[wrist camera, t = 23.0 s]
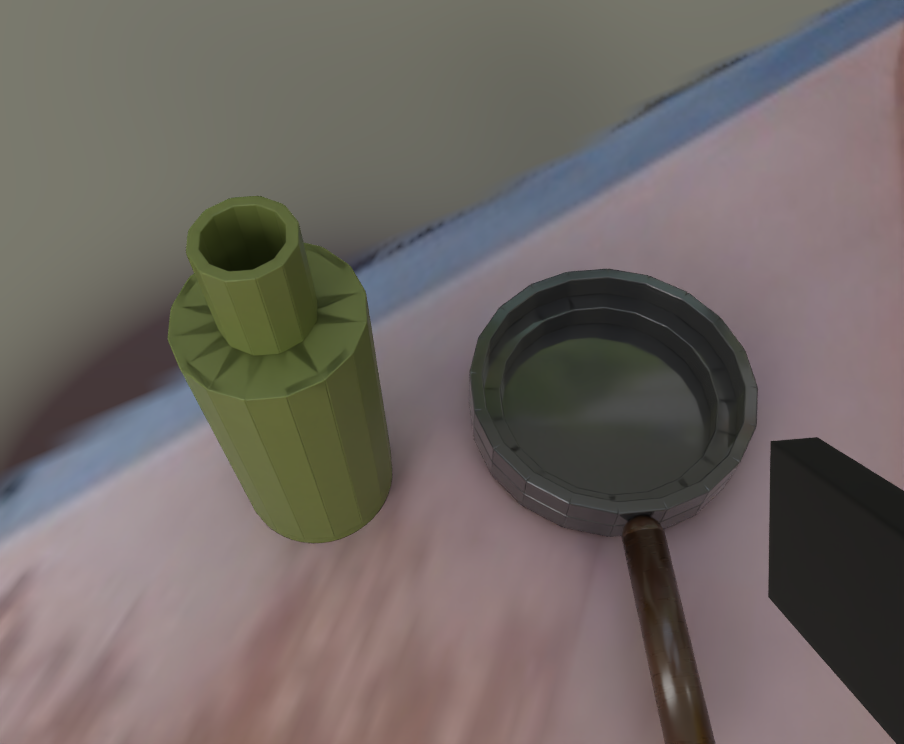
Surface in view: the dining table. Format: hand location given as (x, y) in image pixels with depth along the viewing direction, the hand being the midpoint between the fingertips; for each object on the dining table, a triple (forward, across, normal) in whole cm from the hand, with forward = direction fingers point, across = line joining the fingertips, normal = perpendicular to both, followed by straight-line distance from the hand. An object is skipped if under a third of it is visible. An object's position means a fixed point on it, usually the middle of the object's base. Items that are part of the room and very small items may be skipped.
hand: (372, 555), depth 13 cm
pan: (+27, +10, -6) cm, 30 cm away
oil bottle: (+26, -4, -8) cm, 27 cm away
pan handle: (+18, +10, -13) cm, 24 cm away
